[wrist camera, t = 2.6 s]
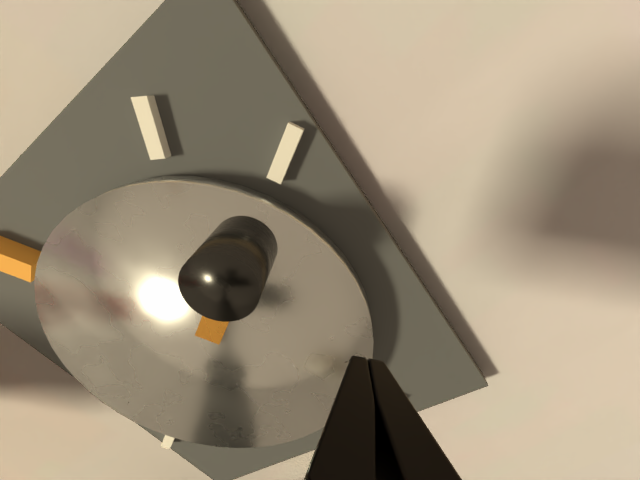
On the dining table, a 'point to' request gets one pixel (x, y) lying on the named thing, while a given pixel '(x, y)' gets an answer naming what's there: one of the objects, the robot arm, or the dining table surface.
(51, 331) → the dial
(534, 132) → the dining table surface
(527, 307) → the dining table surface
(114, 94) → the grey dial base plate
